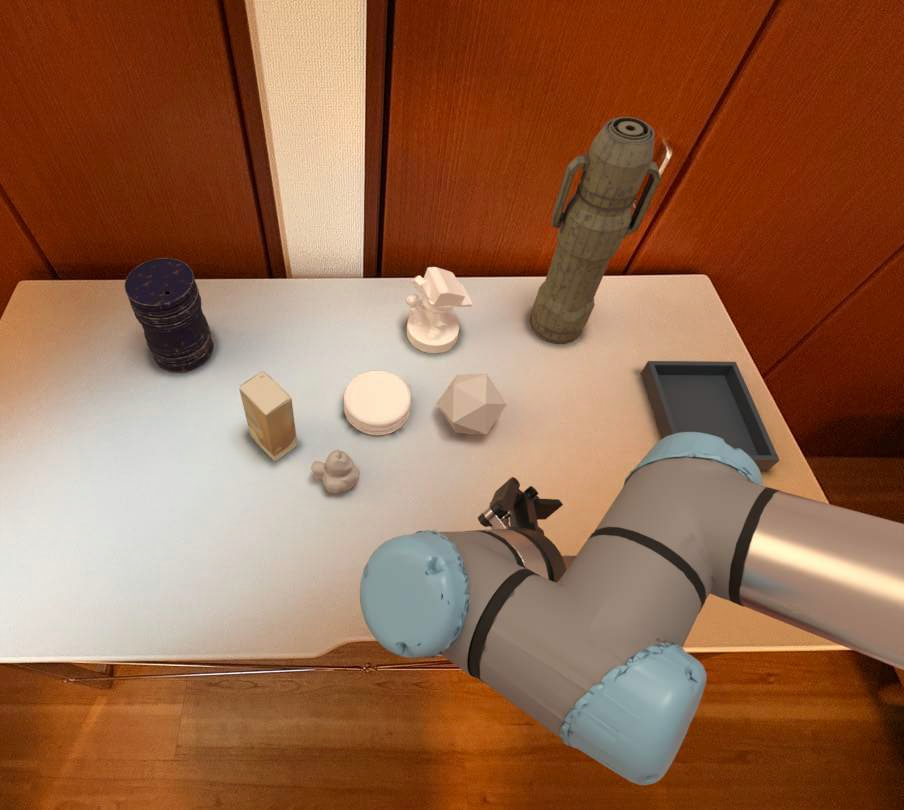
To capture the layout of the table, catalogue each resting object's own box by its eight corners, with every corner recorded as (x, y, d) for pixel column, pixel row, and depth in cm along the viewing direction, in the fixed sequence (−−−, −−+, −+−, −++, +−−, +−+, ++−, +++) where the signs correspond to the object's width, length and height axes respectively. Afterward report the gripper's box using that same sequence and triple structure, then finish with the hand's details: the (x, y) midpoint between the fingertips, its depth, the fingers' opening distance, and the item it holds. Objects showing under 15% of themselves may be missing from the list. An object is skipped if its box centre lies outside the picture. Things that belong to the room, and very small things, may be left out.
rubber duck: (357, 500, 84) (356, 471, 77) (309, 495, 84) (305, 466, 78) (361, 466, 87) (361, 435, 81) (315, 461, 87) (311, 431, 81)
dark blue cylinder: (143, 342, 100) (113, 273, 88) (198, 318, 103) (177, 248, 91) (167, 383, 95) (139, 316, 83) (224, 356, 99) (205, 288, 86)
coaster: (423, 412, 92) (425, 399, 90) (373, 448, 89) (373, 435, 86) (380, 372, 97) (381, 358, 94) (330, 405, 93) (329, 391, 90)
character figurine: (399, 319, 104) (404, 265, 94) (452, 308, 105) (462, 254, 95) (416, 358, 99) (422, 304, 89) (471, 346, 100) (483, 293, 90)
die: (481, 391, 96) (449, 354, 90) (525, 406, 89) (493, 367, 83) (451, 435, 95) (416, 400, 88) (493, 454, 88) (458, 418, 81)
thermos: (597, 344, 101) (691, 148, 72) (525, 344, 100) (591, 148, 72) (585, 305, 106) (669, 107, 77) (517, 305, 106) (575, 107, 77)
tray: (767, 471, 87) (780, 460, 84) (672, 470, 87) (681, 459, 84) (726, 373, 97) (735, 361, 95) (640, 373, 97) (647, 360, 95)
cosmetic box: (249, 435, 90) (235, 385, 80) (272, 419, 92) (262, 367, 82) (276, 464, 87) (265, 415, 77) (299, 446, 89) (292, 396, 79)
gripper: (397, 484, 57) (499, 490, 74) (571, 753, 45) (646, 688, 61) (452, 430, 54) (545, 449, 71) (654, 702, 42) (709, 648, 58)
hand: (592, 560), depth 66 cm, fingers open, 13 cm apart
